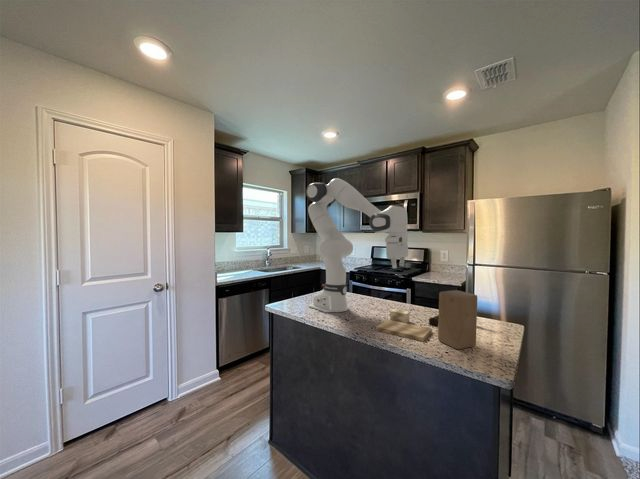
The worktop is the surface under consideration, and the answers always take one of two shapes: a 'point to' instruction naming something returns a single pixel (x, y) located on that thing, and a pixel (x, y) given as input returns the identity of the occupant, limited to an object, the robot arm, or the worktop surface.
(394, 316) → the sanding block
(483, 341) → the worktop surface
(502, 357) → the worktop surface
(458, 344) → the wooden block
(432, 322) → the hand tool
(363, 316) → the worktop surface
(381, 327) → the board
